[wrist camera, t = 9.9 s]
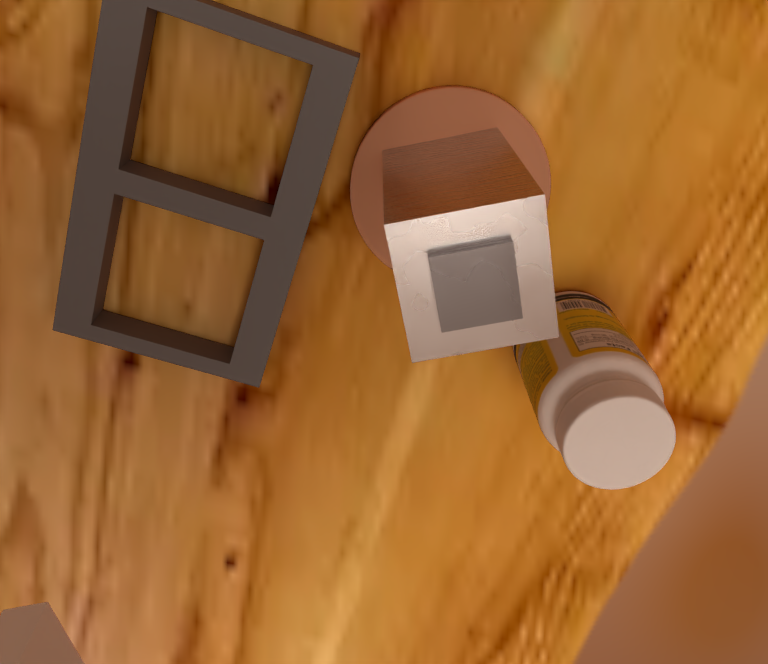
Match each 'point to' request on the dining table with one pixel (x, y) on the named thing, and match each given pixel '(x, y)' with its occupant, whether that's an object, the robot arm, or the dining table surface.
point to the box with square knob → (467, 245)
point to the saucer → (430, 122)
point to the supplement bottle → (597, 396)
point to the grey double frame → (191, 186)
